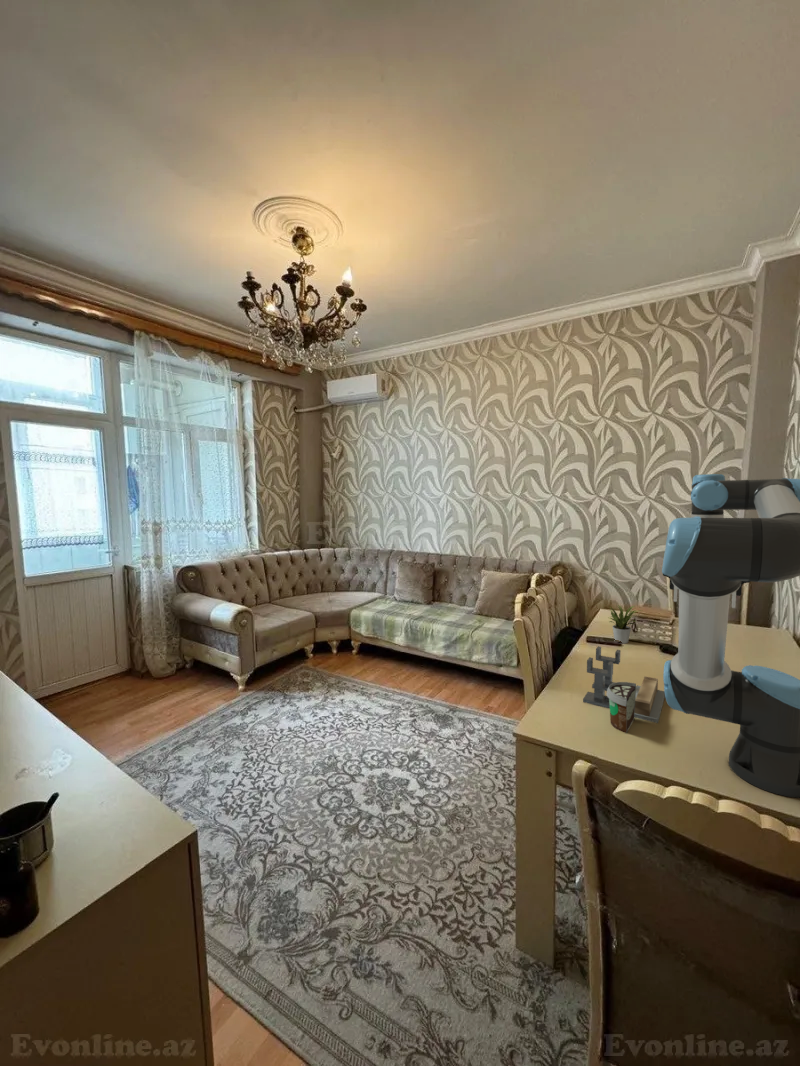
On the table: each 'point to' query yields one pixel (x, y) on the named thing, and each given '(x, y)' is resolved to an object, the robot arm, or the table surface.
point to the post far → (605, 664)
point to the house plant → (622, 624)
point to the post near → (598, 685)
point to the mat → (653, 706)
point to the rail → (646, 696)
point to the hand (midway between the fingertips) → (703, 603)
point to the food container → (622, 704)
